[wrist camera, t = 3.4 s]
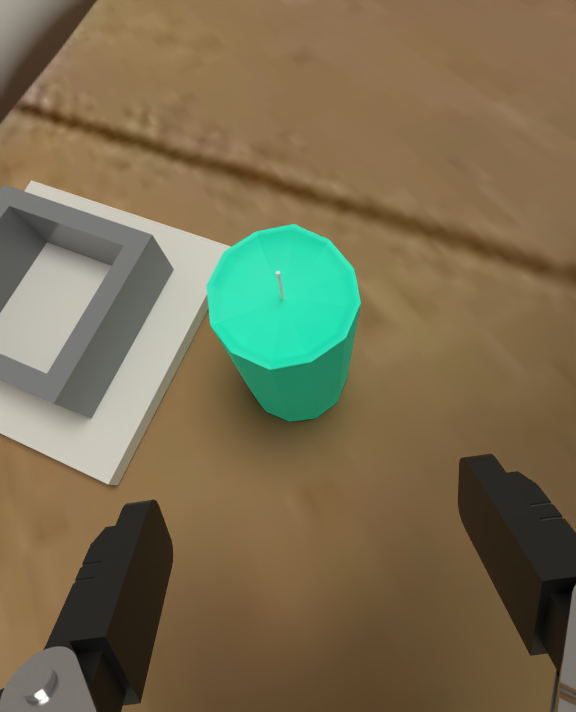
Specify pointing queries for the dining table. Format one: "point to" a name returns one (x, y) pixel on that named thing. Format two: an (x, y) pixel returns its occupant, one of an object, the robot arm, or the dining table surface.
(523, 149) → the dining table surface
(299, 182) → the dining table surface
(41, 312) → the candle holder
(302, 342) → the candle
